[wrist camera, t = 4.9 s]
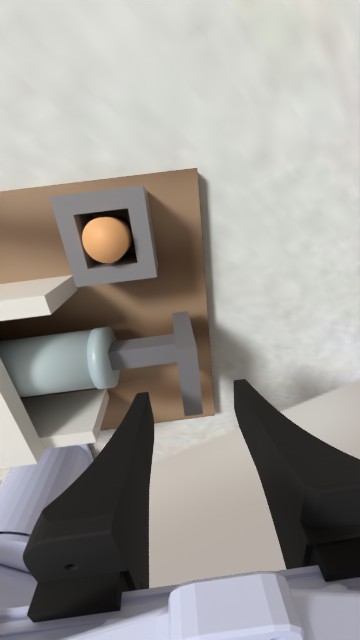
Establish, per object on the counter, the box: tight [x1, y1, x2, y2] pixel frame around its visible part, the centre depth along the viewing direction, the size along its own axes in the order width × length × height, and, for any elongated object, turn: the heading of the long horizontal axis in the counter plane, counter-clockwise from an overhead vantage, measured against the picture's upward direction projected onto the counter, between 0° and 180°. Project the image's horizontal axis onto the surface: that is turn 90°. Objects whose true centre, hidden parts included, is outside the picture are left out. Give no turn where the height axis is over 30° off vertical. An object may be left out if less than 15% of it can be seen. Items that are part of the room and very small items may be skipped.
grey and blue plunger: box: [0, 311, 203, 416], centre depth 18 cm, size 5×17×7 cm, turn 96°
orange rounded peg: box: [82, 216, 134, 263], centre depth 15 cm, size 2×2×4 cm
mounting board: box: [0, 168, 215, 430], centre depth 21 cm, size 22×22×1 cm
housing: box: [0, 185, 158, 469], centre depth 17 cm, size 17×16×6 cm
